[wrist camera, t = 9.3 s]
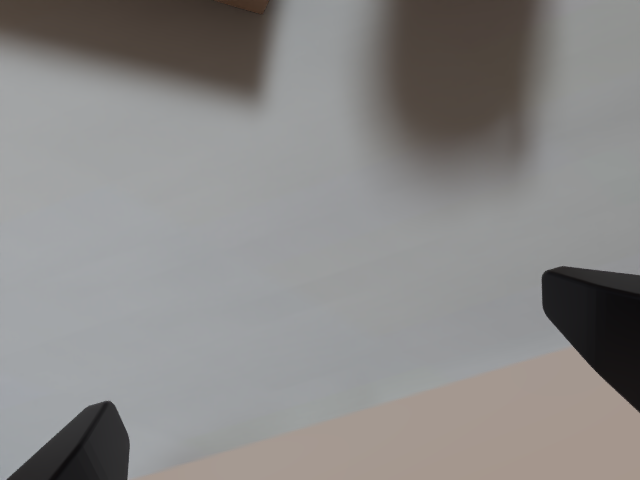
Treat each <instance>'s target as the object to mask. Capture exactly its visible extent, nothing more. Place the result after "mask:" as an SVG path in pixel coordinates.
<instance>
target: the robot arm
mask: <svg viewBox="0 0 640 480" xmlns="http://www.w3.org/2000/svg"><path fill="white" fill-rule="evenodd" d="M542 305H543V310H544V312H545V314H546V316H547V317H548V318H549V320H550V321H551V322H552V323H553V324H554V325H555V326H556V327H557V329H558V330H559V331H560V332H561V333H562V334H563V335H564V337H565V338H566V339H567V340H568V341H569V342H570V343H571V344H572V346H573V347H574V348H575V349H576V350H577V351H578V352H579V354H580V355H581V356H582V357H583V358H584V359H585V360H586V361H587V363H588V364H589V365H590V366H591V367H592V368H593V369H594V370H595V371H596V372H597V373H598V374H599V375H600V376H601V377H602V378H603V379H604V380H605V381H606V382H607V383H609V384H610V385H611V386H612V387H613V388H614V389H615V390H616V391H617V392H618V393H619V394H620V395H621V396H622V397H624V399H626V400H627V401H628V402H629V403H630V404H631V405H632V406H633V407H634V408H635V409H636V410H637V411H638V412H639V413H640V275H633V274H624V273H616V272H608V271H599V270H591V269H582V268H574V267H566V266H561V267H557V268H554V269H550V270H547V271H545V272H544V273H543V275H542ZM129 449H130V443H129V437H128V433H127V431H126V429H125V426H124V424H123V422H122V420H121V418H120V416H119V413H118V411H117V409H116V407H115V405H114V404H113V403H112V402H111V401H104V402H101V403H97V404H94V405H90V406H88V407H86V408H85V409H84V410H83V411H82V412H81V413H80V414H78V415H77V416H76V417H75V418H74V419H73V420H72V421H71V422H70V423H69V424H67V425H66V426H65V427H64V428H63V429H62V430H61V431H60V432H59V433H57V434H56V435H55V436H54V437H53V438H52V439H51V440H50V441H49V442H48V443H46V444H45V445H44V446H43V447H42V448H41V449H40V450H39V451H38V452H37V453H35V454H34V455H33V456H32V457H31V458H30V459H29V460H28V461H27V462H25V463H24V464H23V465H22V466H21V467H20V468H19V469H18V470H17V471H16V472H14V473H13V474H12V475H11V476H10V477H9V478H8V479H7V480H127V477H128V463H129Z"/></svg>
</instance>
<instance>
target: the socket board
mask: <svg viewBox="0 0 640 480" xmlns="http://www.w3.org/2000/svg"><path fill="white" fill-rule="evenodd" d="M214 1H217V2H220V3H224V4H227V5H231V6H234V7H238V8H241V9H245V10H248V11H252V12H255V13H259V14H263V12H264V10H265V8H266V6H267V4H268V2H269V0H214Z"/></svg>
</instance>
